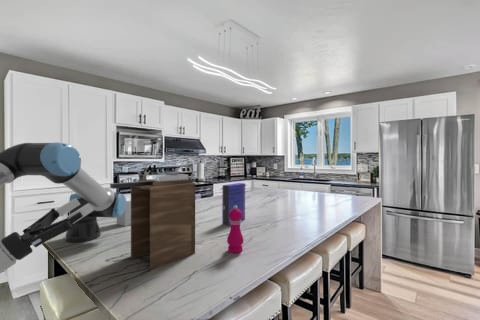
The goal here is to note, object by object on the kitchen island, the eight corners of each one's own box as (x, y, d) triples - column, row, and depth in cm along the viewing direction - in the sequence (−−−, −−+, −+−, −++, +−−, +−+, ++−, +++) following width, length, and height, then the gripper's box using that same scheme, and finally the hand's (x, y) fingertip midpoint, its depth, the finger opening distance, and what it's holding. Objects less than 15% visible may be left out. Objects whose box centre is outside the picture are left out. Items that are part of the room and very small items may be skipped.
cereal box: (239, 218, 165) (239, 182, 164) (244, 219, 162) (245, 183, 161) (222, 224, 150) (222, 185, 150) (228, 225, 148) (228, 185, 147)
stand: (130, 256, 102) (130, 180, 101) (172, 243, 117) (173, 177, 116) (151, 268, 91) (151, 183, 90) (195, 253, 105) (195, 179, 105)
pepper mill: (237, 255, 104) (238, 207, 103) (223, 251, 108) (224, 205, 107) (246, 249, 110) (246, 204, 110) (233, 246, 114) (233, 203, 113)
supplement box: (138, 223, 151) (138, 198, 151) (125, 226, 144) (125, 201, 144) (129, 221, 156) (129, 197, 156) (116, 224, 149) (116, 199, 148)
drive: (106, 186, 91) (106, 175, 91) (175, 181, 113) (175, 171, 113) (117, 189, 85) (117, 177, 85) (188, 182, 106) (188, 172, 106)
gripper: (3, 253, 58) (90, 199, 72) (-5, 231, 75) (67, 190, 88) (24, 275, 61) (104, 219, 75) (12, 249, 78) (79, 207, 91)
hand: (84, 203), depth 82 cm, fingers open, 13 cm apart
